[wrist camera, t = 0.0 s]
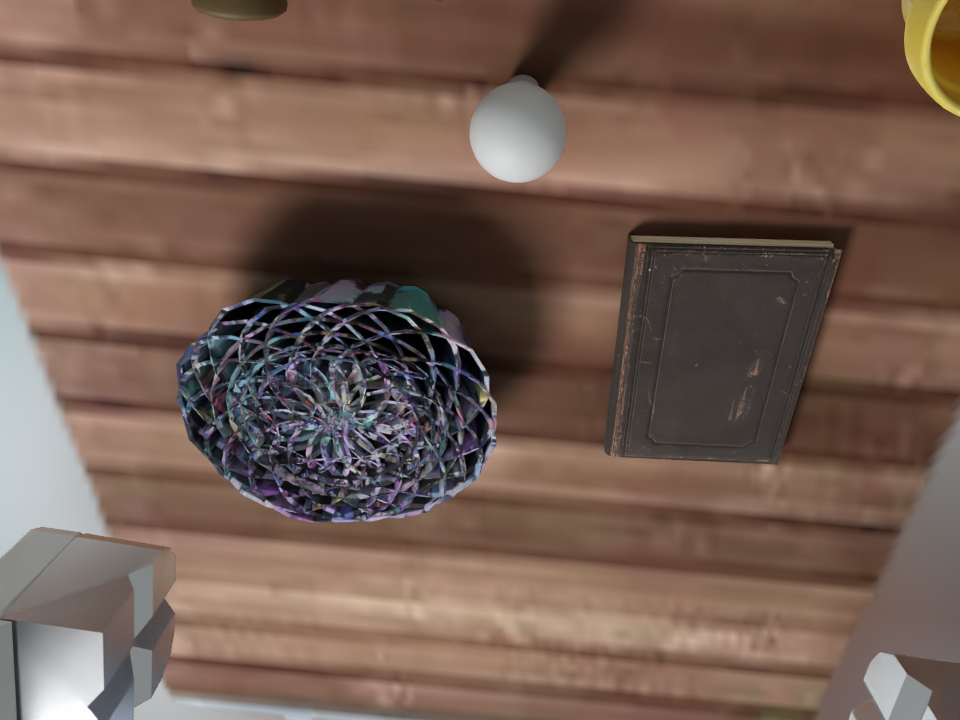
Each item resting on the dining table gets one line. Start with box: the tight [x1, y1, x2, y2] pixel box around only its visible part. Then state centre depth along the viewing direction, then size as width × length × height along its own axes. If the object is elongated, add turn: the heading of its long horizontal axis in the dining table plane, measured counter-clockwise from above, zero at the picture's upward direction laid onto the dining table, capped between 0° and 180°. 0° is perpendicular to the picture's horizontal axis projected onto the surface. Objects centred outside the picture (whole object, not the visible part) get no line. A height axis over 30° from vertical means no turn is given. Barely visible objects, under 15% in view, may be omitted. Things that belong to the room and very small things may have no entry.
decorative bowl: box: [176, 277, 497, 523], centre depth 71 cm, size 26×28×10 cm
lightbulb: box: [470, 75, 567, 183], centre depth 54 cm, size 6×6×11 cm
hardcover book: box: [604, 233, 843, 465], centre depth 70 cm, size 16×23×2 cm
